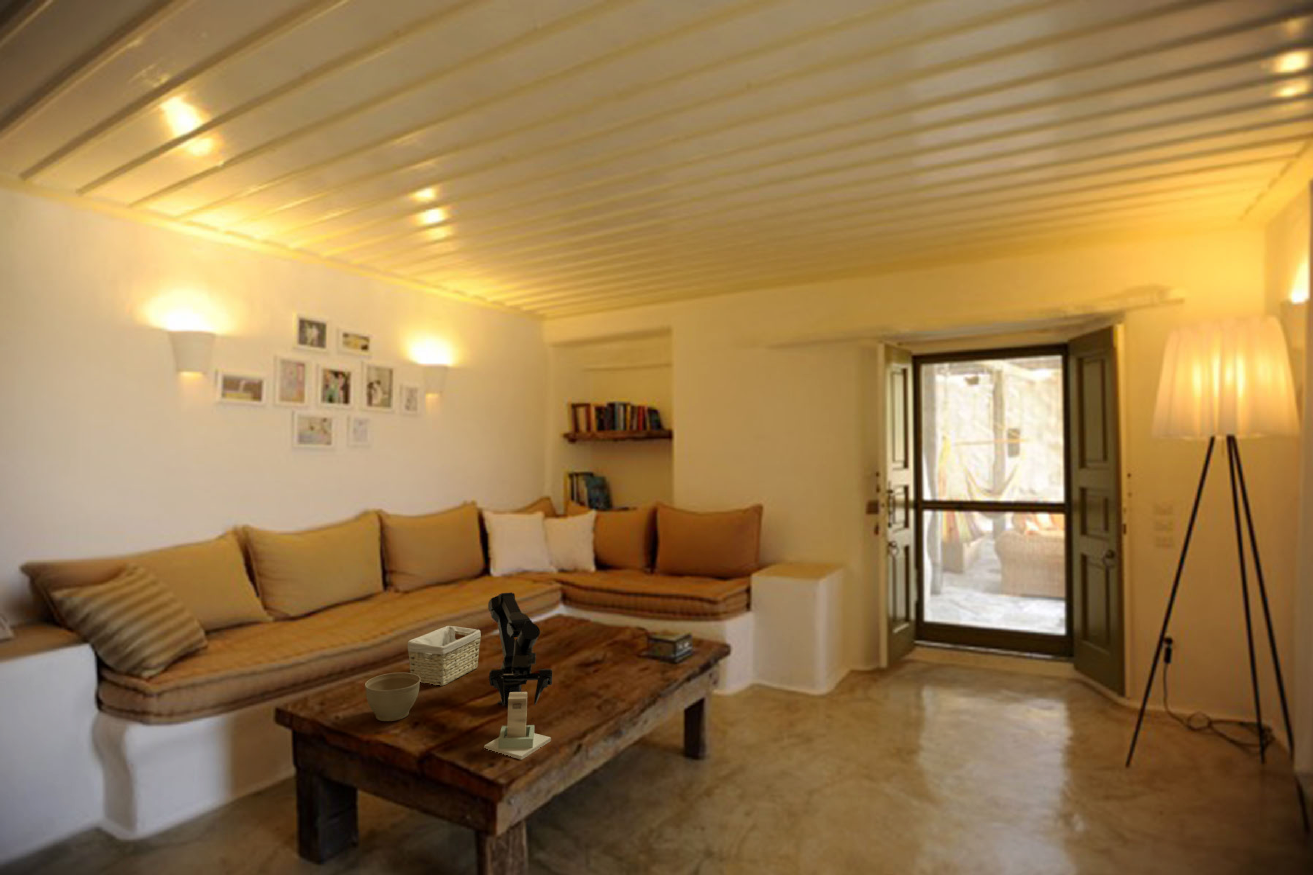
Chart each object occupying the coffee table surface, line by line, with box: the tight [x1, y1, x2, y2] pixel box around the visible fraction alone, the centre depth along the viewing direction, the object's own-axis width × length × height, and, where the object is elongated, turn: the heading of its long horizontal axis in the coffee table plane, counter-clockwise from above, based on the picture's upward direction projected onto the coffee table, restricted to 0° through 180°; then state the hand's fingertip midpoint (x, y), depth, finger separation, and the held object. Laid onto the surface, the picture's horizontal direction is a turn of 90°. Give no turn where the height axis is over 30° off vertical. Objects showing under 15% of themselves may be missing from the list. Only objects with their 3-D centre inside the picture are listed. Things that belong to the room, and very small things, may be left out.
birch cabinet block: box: [506, 691, 528, 738], centre depth 193 cm, size 6×5×13 cm
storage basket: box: [407, 625, 482, 687], centre depth 249 cm, size 24×16×15 cm
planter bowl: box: [364, 672, 421, 722], centre depth 211 cm, size 16×16×11 cm
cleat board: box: [483, 724, 552, 761], centre depth 193 cm, size 14×14×4 cm
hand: (519, 704), depth 200 cm, fingers open, 9 cm apart
